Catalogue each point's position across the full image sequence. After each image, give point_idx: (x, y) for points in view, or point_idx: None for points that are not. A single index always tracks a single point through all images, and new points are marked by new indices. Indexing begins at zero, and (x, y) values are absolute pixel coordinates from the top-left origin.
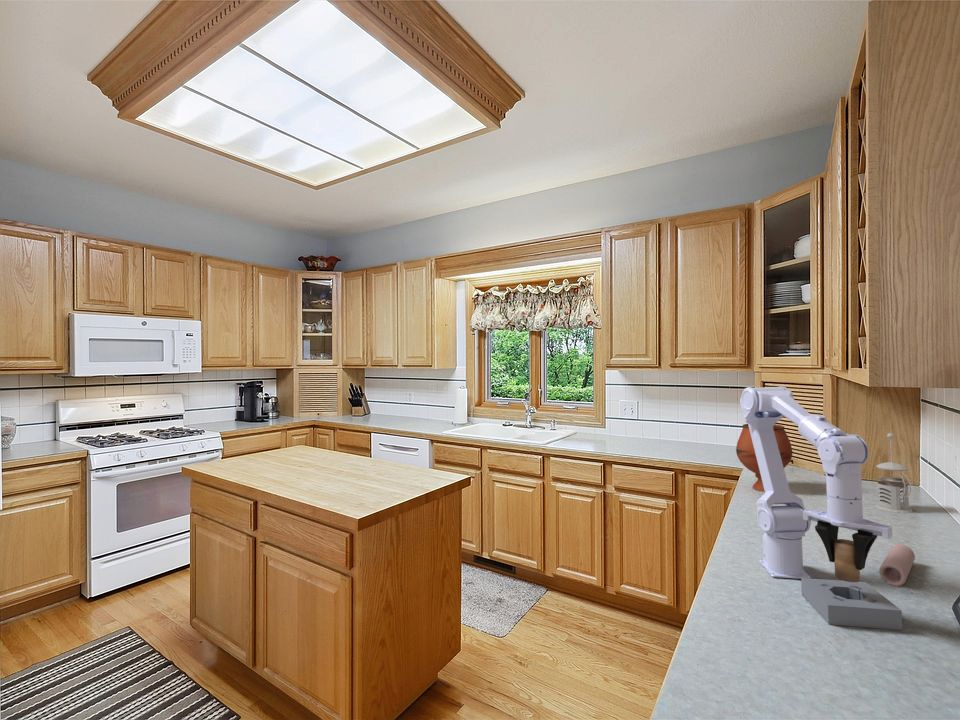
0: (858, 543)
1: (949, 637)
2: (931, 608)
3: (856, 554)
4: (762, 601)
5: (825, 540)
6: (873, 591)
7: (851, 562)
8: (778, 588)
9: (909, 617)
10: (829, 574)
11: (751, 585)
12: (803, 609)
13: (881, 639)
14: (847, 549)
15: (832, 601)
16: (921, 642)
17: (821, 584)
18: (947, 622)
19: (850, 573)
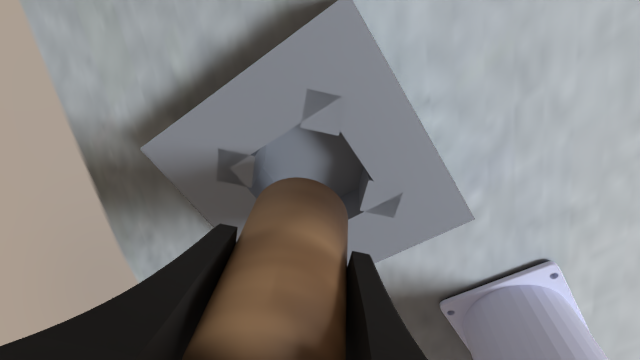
0: (100, 343)
1: (88, 162)
2: None
3: (189, 277)
4: (600, 25)
5: (400, 358)
6: None
7: (247, 243)
8: (532, 189)
9: (188, 220)
10: None
11: (635, 153)
12: (441, 66)
13: (190, 3)
14: (240, 304)
15: (338, 55)
16: (114, 76)
17: (400, 204)
18: (124, 244)
19: (268, 202)
